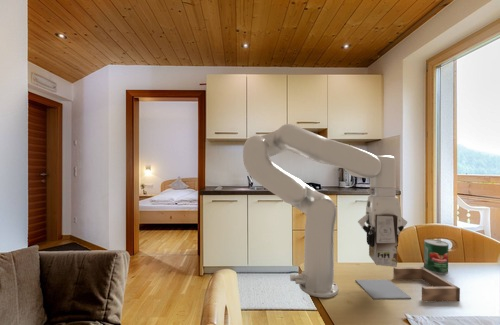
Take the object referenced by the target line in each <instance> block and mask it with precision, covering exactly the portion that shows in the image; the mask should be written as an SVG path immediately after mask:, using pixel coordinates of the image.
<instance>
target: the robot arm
mask: <svg viewBox="0 0 500 325" xmlns="http://www.w3.org/2000/svg"><path fill="white" fill-rule="evenodd" d="M286 151H289V152H291V153H293V154H297V155H299V156H302V157H304V158H306V159H309V160H312V161H313V162H317V163H320V164H324V165H329V166H334V167H338V168H341V169H344V170H345V171H346V173H347V174H348V175H350V176H352V177H356V178H362V179H370V181H369V183H370V184H369V188H367V189H366V193H367V194H369V195H368V196H367V197H368V198H367V201H366V206H365V207H366V208H365V215H364V216H362V217H361V218H360V219H358V220H357V223H358V225H359V226H360V227H361V229H362V230H363V231H364V232H365V233H366V243H367V245H368V246H369V245H370V246H371V247H374V235H373V232H374V227H375V228H376V215H396V216H398V220H397V248H398V246H399V235H401V232H402V231H403V230H404V228H405V227H406V226H407V224H408V221H407V220H406V219H405V218H403V217H402V209H401V203H400V199H399V196H397V193H396V192H397V191H396V189H397V160H396V158H395V156H393V155H375V154H373V153H371V152H368V151H366V150H363V149H360V148H358V147H356V146H353V145H351V144H350V145H349V144H346V143H343V142H339V141H337V140H334V139H330V138H328V137H324V136H322V135H319V134H317V133H314V132H312V131H310V130H308V129H306V128H302V127H300V126H298V125H295V124H292V123H286V124H283V125H282V126H280V127H279V128H278V129H276V130H274V131H271V132H268V133H266V134H263V135H261V136H260V135H252V136H249V137H248V138H247V139H246V141H245V142H244V145H243V149H242V159H243V165H244V168H245V170H246V172H247V173H248V175H249V176H250V178H252V179H253V180H254V181H255V182H256V183H257V184H259V185H261V186H262V187H263V188H265V189H266V190H267V191H269V192H271V193H272V194H273V195H275V196H277V197H278V198H279V199H280V200H281V201H283V202H284V203H286V204H290V205H291V206H292V207H293V208H296V209H298V210H299V211H300V212H302V213H303V214H305V224H304V250H303V251H304V255H303V257H304V262H303V263H304V264H303V265H304V268H303V270H301V273H298V274H297V275H296V274H290V275H289V280H290V282H294V283H295V285H299V288H300V290H301V291H302V292H303V293H305V294H306V295H309V296H311V297H316V298H321V299H323V298H324V299H325V298H327V299H328V298H333V297H335V296H337V295H338V293H339V286H338V284H337V283H336V282H334V275H335V274H334V273H335V271H334V269H335V268H334V267H335V262H334V261H335V228H336V220H337V207H336V204H335V201H334V200H333V199H332V198H331V197H330V196H328V195H327V194H324V193H322V192H319V191H318V190H316V189H315V188H313V187H311V186H310V185H308V184H307V183H305V182H304V181H303V180H302V179H300V178H299V177H297V176H295V175H293V174H291V173H289V172H288V171H286V170H284V169H283V168H282V167H280V165H277V164H276V163H274V161H272V159H271V157H274V156H276V155H279V154H282V153H284V152H286ZM366 224H367V225H366Z"/></svg>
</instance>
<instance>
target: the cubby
mask: <svg viewBox="0 0 500 325" xmlns="http://www.w3.org/2000/svg"><path fill="white" fill-rule="evenodd" d="M392 271H393V274H392V275H393V277H392V278H393V279H394V280H395V281H415V280H416V281H418V280H419V281H424V282H425V283H427V284H428V285H429V286H421V301H422V302H424V303H426V302H427V303H429V302H430V303H431V302H434V303H436V302H461V301H460V300H461V288H460V287H458V286H457V285H455V284H453V283H451V282H449V281H448V280H446V279H444V278H443V277H441V276H439V275H437V273H434V272H430V271H429V270H427V269H425V268H424V266H420V267H419V266H417V267H412V266H411V267H410V266H409V267H405V266H402V267H398V266H397V267H393V270H392Z"/></svg>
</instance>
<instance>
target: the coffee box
mask: <svg viewBox="0 0 500 325" xmlns="http://www.w3.org/2000/svg"><path fill="white" fill-rule="evenodd" d="M397 220H398V216H396V215H376V228H375V227H374V232H373V235H374V247H371V246H370V245H368V256H369V258H370V259H371V260H372V261H373V263H374V264H375V265H376V266H381V267H382V266H383V267H393V268H394V267H398V247H397Z"/></svg>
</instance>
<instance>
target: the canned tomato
mask: <svg viewBox="0 0 500 325" xmlns="http://www.w3.org/2000/svg"><path fill="white" fill-rule="evenodd" d="M423 241H424V242H423V247H424V249H423V254H424V255H423V268H425V269H427V270H429V271H430V272H432V273H434V274H439V275H447V274H448V273H449V244H450V243H448V242H446V241H442V240H440V239H439V240H438V239H430V238H429V239H428V238H425V239H424V240H423Z"/></svg>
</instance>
